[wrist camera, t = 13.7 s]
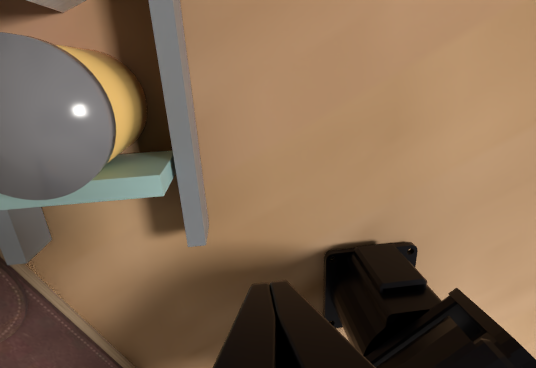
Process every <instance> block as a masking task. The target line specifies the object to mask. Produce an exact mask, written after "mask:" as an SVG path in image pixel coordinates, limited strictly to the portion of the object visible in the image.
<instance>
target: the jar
mask: <svg viewBox="0 0 536 368" xmlns="http://www.w3.org/2000/svg"><path fill="white" fill-rule="evenodd" d="M146 119H147V101H146V97H145V94H144V91H143V89H142V87H141V85H140V83H139V81H138V80H137V78H136V77H135V75H134V74H133V73H132V72H131V71H130V69H128V68H127V67H126V66H125V65H124V64H123V63H121V62H120V61H119V60H117V59H116V58H114V57H112V56H110V55H108V54H105V53H103V52H99V51H96V50H89V49H82V48H75V47H68V46H61V45H54V44H52V43H49V42H47V41H44V40H41V39H37V38H34V37H29V36H23V35H17V34H10V33H3V32H0V194H3V195H7V196H10V197H14V198H19V199H25V200H49V199H56V198H59V197H63V196H66V195H69V194H71V193H73V192H75V191H77V190H79V189H80V188H82V187H83V186H85V185H86V184H87V183H88V182H90V181H91V180H92V179H93V178H95V177H96V176H97V175H98V174H99V173H100V172H101V171H102V170H103V169H104V167H105V166H106V164H107V163H108V162H109V161H111V160H112V159H113V158H115V157H116V156H117V155H119V154H120V153H121V152H123V151H124V150H125V149H126V148H128V147H129V146H130V145H132V144H133V143H134V142H135V141H136V140H137V139H138V138H139V136H140V135H141V133H142V131H143V129H144V127H145V123H146Z"/></svg>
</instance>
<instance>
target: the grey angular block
mask: <svg viewBox="0 0 536 368" xmlns="http://www.w3.org/2000/svg"><path fill="white" fill-rule="evenodd" d="M27 1H30V2H33V3H36V4H39V5H42V6H45V7H48V8H51V9H54V10H57V11H60V12H63V13H64V12H66V11H67V10H69V9H71V8H73V7H75V6H77V5H78V4H80V3H82V2H84V1H86V0H27Z"/></svg>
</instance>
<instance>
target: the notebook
mask: <svg viewBox="0 0 536 368" xmlns="http://www.w3.org/2000/svg"><path fill="white" fill-rule="evenodd" d="M0 368H136V367H135V366H134V365H133V364H131V363H130V362H129V361H128V360H127V359H126V358H125V357H124V356H123V355H122V354H121V353H120V352H119V351H118V350H116V349H115V348H114V347H113V346H112V345H111V344H110V343H109V342H108V341H107V340H106V339H105V338H104V337H102V336H101V335H100V334H99V333H98V332H97V331H96V330H95V329H94V328H93V327H92V326H91V325H90V324H88V323H87V322H86V321H85V320H84V319H83V318H82V317H81V316H80V315H79V314H78V313H77V312H76V311H74V310H73V309H72V308H71V307H70V306H69V305H68V304H67V303H66V302H65V301H64V300H63V299H62V298H60V297H59V296H58V295H57V294H56V293H55V292H54V291H53V290H52V289H51V288H50V287H49V286H48V285H46V284H45V283H44V282H43V281H42V280H41V279H40V278H39V277H38V276H37V275H36V274H35V273H34V272H32V271H31V270H30V269H29V268H28V267H27V266H26V265H25V264H15V265H7V263H6V261H5V258H4V256H3V254H2V251H1V249H0Z"/></svg>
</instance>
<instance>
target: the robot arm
mask: <svg viewBox="0 0 536 368" xmlns="http://www.w3.org/2000/svg"><path fill="white" fill-rule="evenodd" d="M410 248H411V249H410ZM408 249H410V250H409V251H408ZM331 257H335V258H334V259H332V260H330V258H331ZM416 257H417V247H416V246H415V245H414V244H413V243H411V242H406V243H397V244H392V243H388V244H379V245H369V246H360V247H357V248H350V249H340V250H331V251H328V252H327V253H326V254H325V257H324V309H323V316H322V315H321V314H320V313H319V312H318V311H317V310H316V309H315V308H314V307H313V306H312V305H311V304H310V303H309V302H308V301H307V300H306V299H305V298H304V297H303V296H302V295H301V294H300V293H299V292H298V291H297V290H296V289H295V288H294V287H293V286H292V285H291V284H290V283H288V282H287V281H286V280H282V281H274V282H271V283H270V285H269V284H268V283H267V282H265V283H256V284H252V285H251V287H250V289H249V291H248V293H247V296H246V298H245V300H244V302H243V304H242V306H241V308H240V311H239V313H238V315H237V317H236V319H235V321H234V323H233V325H232V328H231V330H230V332H229V334H228V336H227V338H226V340H225V342H224V345H223V347H222V349H221V351H220V353H219V355H218V357H217V360H216V362H215V364H214V366H213V368H536V360H535V359H534V358H533V357H532V356H531V355H530V354H529V353H528V352H527V351H526V350H525V349H524V348H523V347H522V346H521V345H520V344H519V343H518V342H517V341H516V340H515V339H514V338H513V337H512V336H511V335H510V334H509V333H507V332H506V331H505V330H504V329H503V328H502V327H501V326H500V325H498V324H497V323H496V322H495V321H494V320H493V319H492V318H491V317H489V316H488V315H487V314H486V313H485V312H484V311H483V310H481V309H480V308H479V307H478V306H477V305H476V304H475V303H474V302H472V301H471V300H470V299H469V298H468V297H467V296H466V295H464V294H463V293H462V292H461V291H460V290H459V289H458V288H456V289H454V290H453V291H451V292H450V293H449V296H448V297H447V298H445V299H444V300H443V301H441V300H440V298H439V297H438V296H437V295H436V294H435V293H434V292H433V291H432V290H431V289H430V288H429V286H428V285H427V280H426V279H425V278H424V277H423V276H422V275H421V274H420V273H419V272H418V270H417V269H416V268H415V265H416ZM329 321H331V322H329ZM340 327H343V328H344V331H345V333H346V335H347V337H348V340H349V341H348V340H347V339H346V338H345V337H344V336H343V335H342V334H341V333H340V332H339V331H338V330H337V329H336V328H340Z"/></svg>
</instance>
